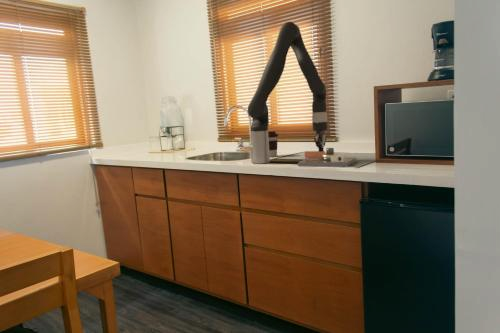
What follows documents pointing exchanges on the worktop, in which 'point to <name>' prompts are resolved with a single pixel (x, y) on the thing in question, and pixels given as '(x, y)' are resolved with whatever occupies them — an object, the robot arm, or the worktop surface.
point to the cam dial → (320, 154)
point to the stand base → (329, 161)
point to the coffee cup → (272, 143)
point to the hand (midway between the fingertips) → (321, 154)
